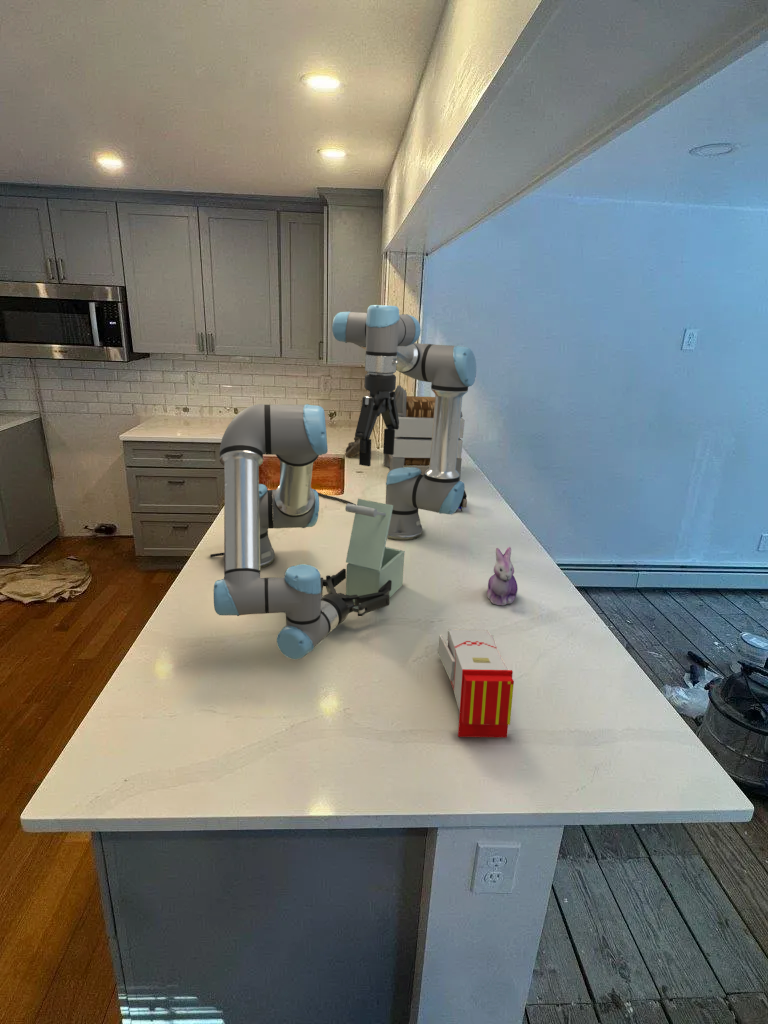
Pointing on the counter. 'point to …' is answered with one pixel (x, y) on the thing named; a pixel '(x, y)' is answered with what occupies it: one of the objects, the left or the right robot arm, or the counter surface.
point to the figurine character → (463, 502)
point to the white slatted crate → (416, 432)
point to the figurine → (502, 580)
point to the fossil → (353, 448)
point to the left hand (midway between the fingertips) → (367, 578)
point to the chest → (376, 575)
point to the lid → (368, 533)
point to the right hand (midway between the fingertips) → (377, 459)
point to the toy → (478, 682)
